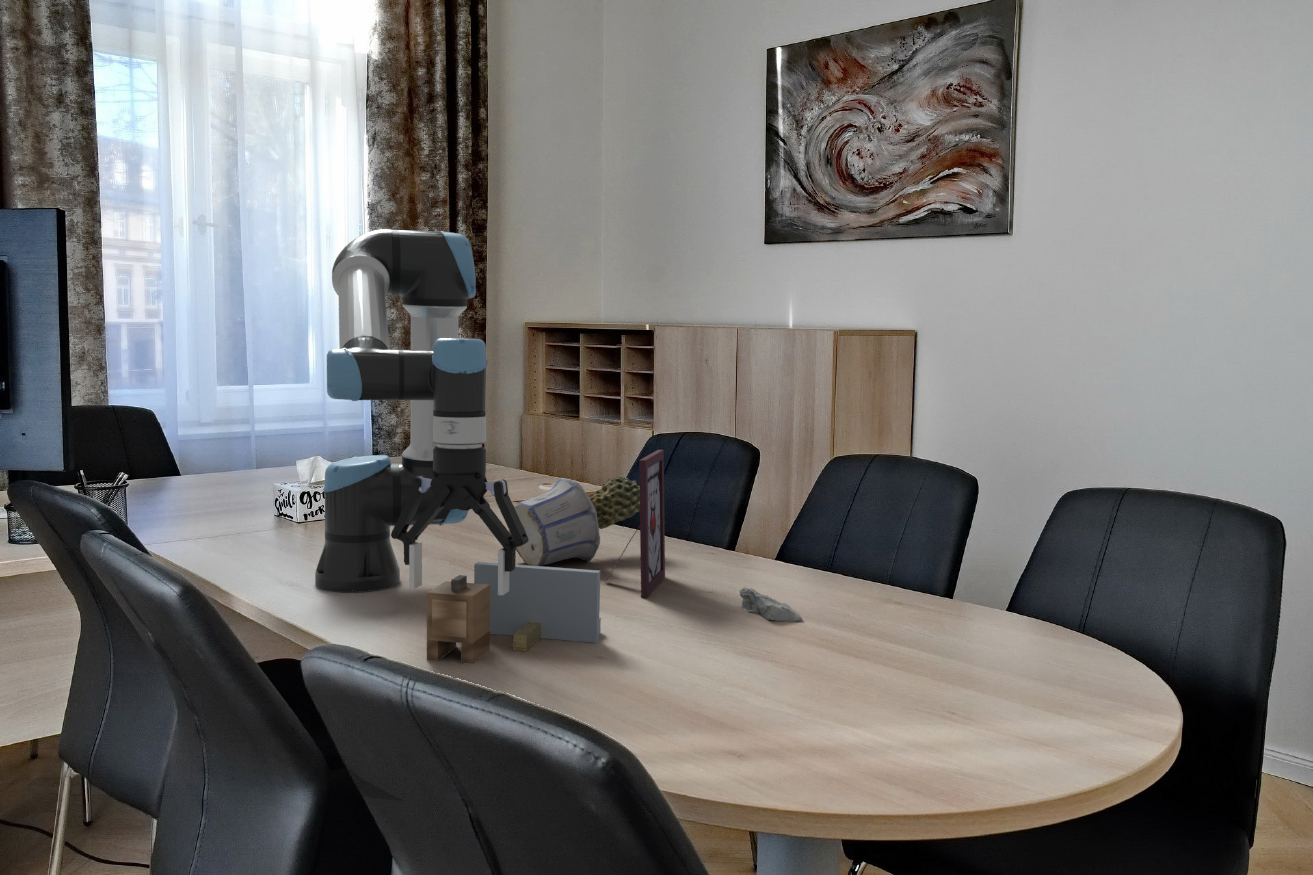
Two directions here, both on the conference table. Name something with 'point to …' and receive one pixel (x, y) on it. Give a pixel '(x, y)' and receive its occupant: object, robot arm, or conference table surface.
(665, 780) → the conference table surface
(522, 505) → the potted plant
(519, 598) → the wall board
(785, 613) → the stone
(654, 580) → the picture frame
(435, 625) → the cabinet block
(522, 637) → the rail
